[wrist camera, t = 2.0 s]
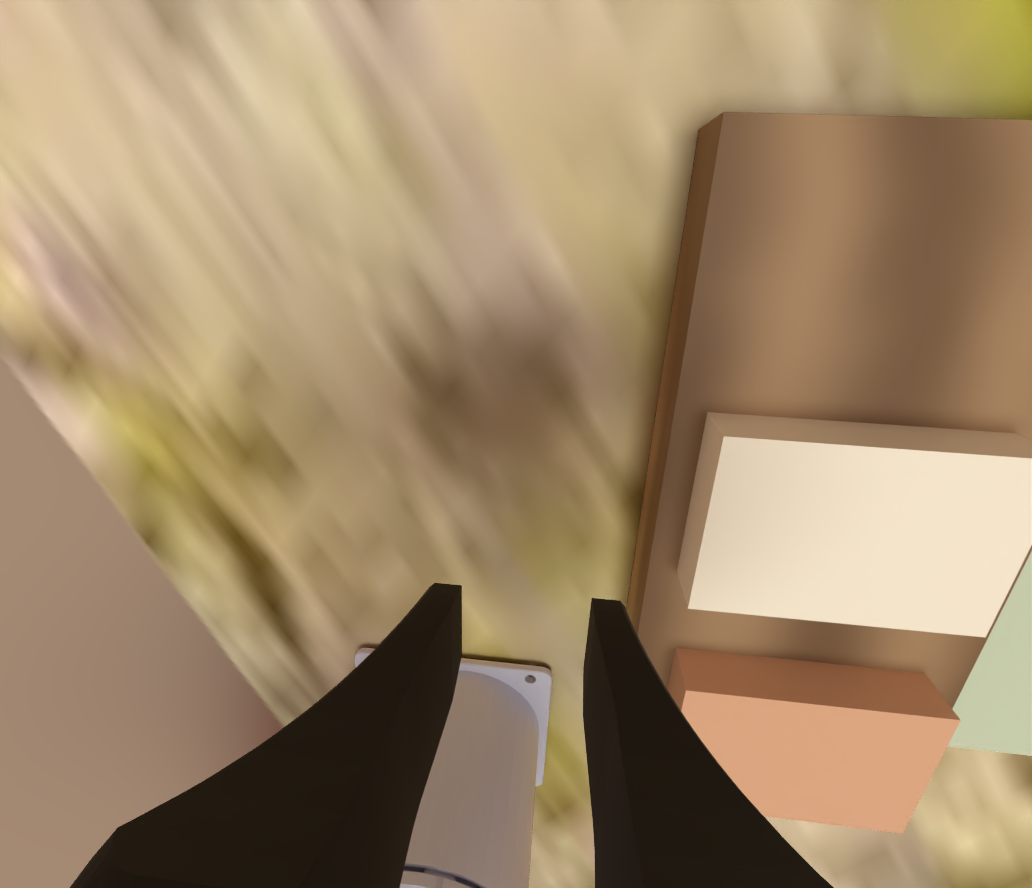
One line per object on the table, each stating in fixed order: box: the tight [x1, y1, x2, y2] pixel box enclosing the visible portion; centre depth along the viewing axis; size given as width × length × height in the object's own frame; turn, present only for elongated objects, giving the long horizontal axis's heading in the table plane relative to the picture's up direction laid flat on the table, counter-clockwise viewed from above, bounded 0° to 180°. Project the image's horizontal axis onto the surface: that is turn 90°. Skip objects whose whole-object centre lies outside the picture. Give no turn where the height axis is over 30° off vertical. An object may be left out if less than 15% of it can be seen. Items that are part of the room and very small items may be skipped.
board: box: [626, 112, 1032, 709], centre depth 19 cm, size 12×24×3 cm, turn 178°
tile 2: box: [667, 648, 961, 833], centre depth 20 cm, size 9×6×2 cm, turn 88°
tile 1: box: [677, 412, 1032, 638], centre depth 17 cm, size 9×6×2 cm, turn 88°
